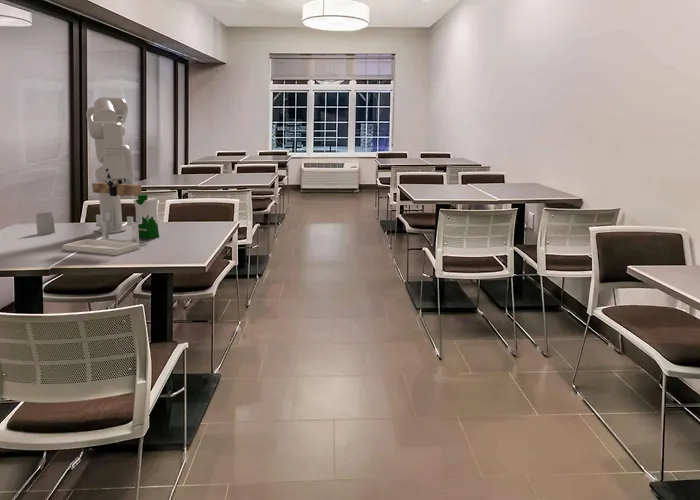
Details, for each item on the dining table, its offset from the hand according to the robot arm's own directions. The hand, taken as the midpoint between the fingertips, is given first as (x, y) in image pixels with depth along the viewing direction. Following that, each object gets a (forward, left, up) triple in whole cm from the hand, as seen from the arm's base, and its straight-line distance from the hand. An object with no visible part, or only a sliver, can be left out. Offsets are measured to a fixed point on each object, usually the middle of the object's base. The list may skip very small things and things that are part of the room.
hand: (117, 194), depth 259 cm
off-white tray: (0, -12, -22) cm, 25 cm away
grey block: (-51, +10, -22) cm, 56 cm away
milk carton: (+2, +17, -22) cm, 28 cm away
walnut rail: (0, 0, +1) cm, 1 cm away
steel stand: (0, 0, -22) cm, 22 cm away
